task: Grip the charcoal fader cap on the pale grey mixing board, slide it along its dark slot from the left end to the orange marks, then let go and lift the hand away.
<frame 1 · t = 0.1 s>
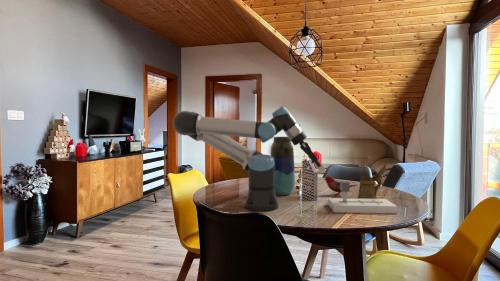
hand: (321, 170, 155), 15 cm above the table, tool tilted 35°, fingers open, 13 cm apart
decorative bird figurine: (340, 195, 170), on the table
brown watering can: (371, 200, 158), on the table
vase: (282, 194, 175), on the table
mixing board: (360, 208, 141), on the table
fader: (344, 191, 141), point 8 cm above the table, slide at -7.0 cm
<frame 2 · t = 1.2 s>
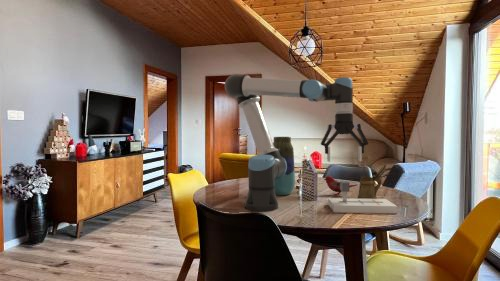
hand: (344, 161, 141), 21 cm above the table, tool pointing down, fingers open, 13 cm apart
nothing on the table moved.
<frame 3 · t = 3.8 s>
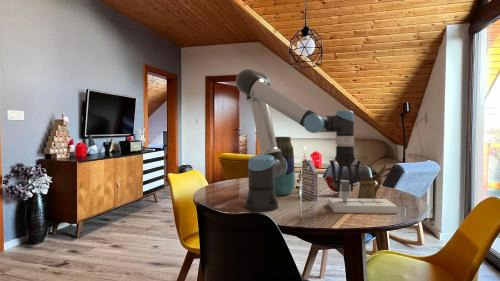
hand: (344, 198, 141), 5 cm above the table, tool pointing down, fingers closed on fader, 3 cm apart
fader: (344, 191, 141), point 8 cm above the table, slide at -7.0 cm, touching gripper
everything else where it was.
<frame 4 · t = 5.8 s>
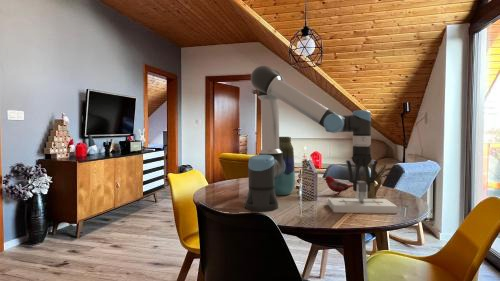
hand: (361, 198, 141), 5 cm above the table, tool pointing down, fingers closed on fader, 3 cm apart
fader: (361, 191, 141), point 8 cm above the table, slide at 0.2 cm, touching gripper
everything else where it was.
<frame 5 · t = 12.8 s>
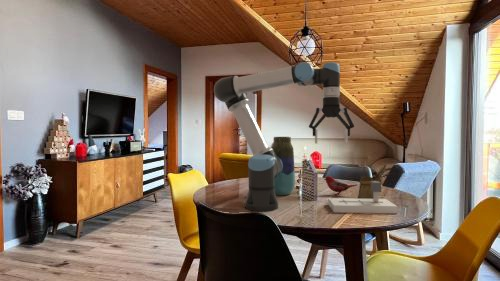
hand: (331, 143, 147), 29 cm above the table, tool pointing down, fingers open, 13 cm apart
fader: (375, 191, 140), point 8 cm above the table, slide at 6.5 cm
everything else where it was.
at the end: fader slide at 6.5 cm; the gripper is holding nothing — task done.
